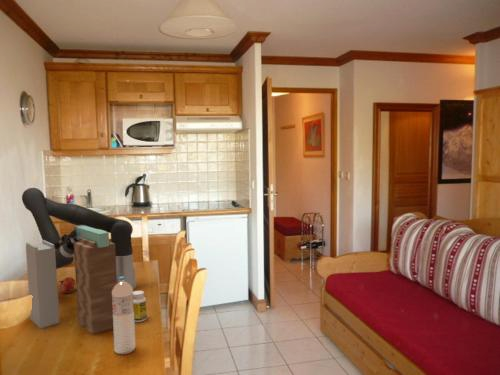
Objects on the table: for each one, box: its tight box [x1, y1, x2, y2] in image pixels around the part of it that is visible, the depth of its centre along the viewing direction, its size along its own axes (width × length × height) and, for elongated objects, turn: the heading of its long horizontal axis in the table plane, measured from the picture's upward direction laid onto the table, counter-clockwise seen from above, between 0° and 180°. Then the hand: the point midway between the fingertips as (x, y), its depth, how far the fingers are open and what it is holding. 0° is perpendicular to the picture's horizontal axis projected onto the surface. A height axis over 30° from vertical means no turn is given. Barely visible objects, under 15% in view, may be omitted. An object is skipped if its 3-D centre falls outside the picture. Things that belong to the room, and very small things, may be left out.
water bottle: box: [111, 276, 136, 355], centre depth 137 cm, size 7×7×25 cm
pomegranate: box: [58, 276, 76, 294], centre depth 197 cm, size 7×7×10 cm
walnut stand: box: [74, 237, 117, 335], centre depth 157 cm, size 14×10×34 cm
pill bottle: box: [133, 290, 148, 323], centre depth 162 cm, size 6×6×11 cm
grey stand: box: [25, 240, 60, 329], centre depth 162 cm, size 12×7×31 cm, turn 44°
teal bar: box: [73, 225, 110, 248], centre depth 158 cm, size 24×4×5 cm, turn 44°
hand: (84, 230), depth 162 cm, fingers open, 6 cm apart
